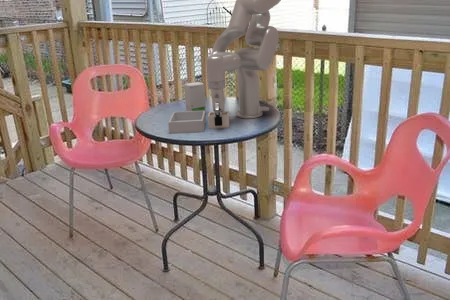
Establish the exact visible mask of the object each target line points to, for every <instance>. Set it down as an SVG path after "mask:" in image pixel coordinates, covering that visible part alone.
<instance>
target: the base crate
mask: <svg viewBox="0 0 450 300" xmlns="http://www.w3.org/2000/svg"><path fill="white" fill-rule="evenodd" d="M167 123H168V132H169V134H181V133H182V134H183V133H185V134H186V133H204V132H205V126H206V123H207V111H206V112H205V111H186V110H185V111H173V112H172V113H171V116H170V117H169V120H168V122H167Z"/></svg>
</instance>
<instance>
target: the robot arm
mask: <svg viewBox="0 0 450 300" xmlns="http://www.w3.org/2000/svg"><path fill="white" fill-rule="evenodd" d="M281 1H282V0H235V3H234V6H233V9H232V11H231V12H232V13H231V15H230V19H229V24H228V26H227V27H226V29H224V30H223V32H222V33H221V34H220V35H219V36H218V38H217V39H216V40H215V42H214V44H213V47H212V51H211V54H210V55H208V56H207V57H206V63H205V64H206V75H207V77H206V78H207V88H208V89H209V90H210V92H211V93H210V94H211V104H212V112H215V117H214V119H215V126H222V117H221V112H224V111H225V107H226V106H225V93H224V92H225V91H224V89H225V88H226V76H225V72H228V71H236V72H237V83H238V84H237V87H238V91H237V92H238V107H239V110H238V111H237V112H236V117H237V118H240V119H246V120H247V119H248V120H249V119H256V118H260V117H262V116H263V112H269V111H270V107H269V106H265V105H264V106H261V105H260V88H259V87H260V85H259V75H258V72H257V71H259V72H261V71H262V72H263V71H266V70H268V69H269V68H270V66H271V64H272V61H273V58H274V56H275V53H276V50H277V47H278V44H279V37H280V36H279V31H278V30H277V28H276V27H274V26H273V25H270V22H271V13H270V11H269V10H272V9H273V8H274V7H275V6H277V5H278V4H279V3H280V2H281ZM244 36H245V38H244V41H245V44H247V46H249V47H242V48H239V49H238V50H237V51H236V53H235V52H230V51H229V52H228V51H227V49H228V47H229V46H230V44H232V43H233V42H234V41H236V40H237V39H240V38H242V37H244Z"/></svg>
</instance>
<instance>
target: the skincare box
mask: <svg viewBox="0 0 450 300" xmlns="http://www.w3.org/2000/svg"><path fill="white" fill-rule="evenodd" d="M183 86H184V96H185V97H184V98H185V99H184V100H185V109H186V110H185V111H205V112H206V113H207V109H206V95H205V94H206V93H205V91H206V89H205V84H204V83H203V82H200V81H198V82H197V81H196V82H187V83H184V85H183Z"/></svg>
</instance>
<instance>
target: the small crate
mask: <svg viewBox="0 0 450 300" xmlns="http://www.w3.org/2000/svg"><path fill="white" fill-rule="evenodd" d="M214 117H215V112H214V111H209V112H208V115H207V119H208V121H207V123H208V129H210V130H211V129H214V130H215V129H230V113H229V110H228V111H227V110H226V111H225V110H224V111H222V112H221V117H222V126H215V119H214Z"/></svg>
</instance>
